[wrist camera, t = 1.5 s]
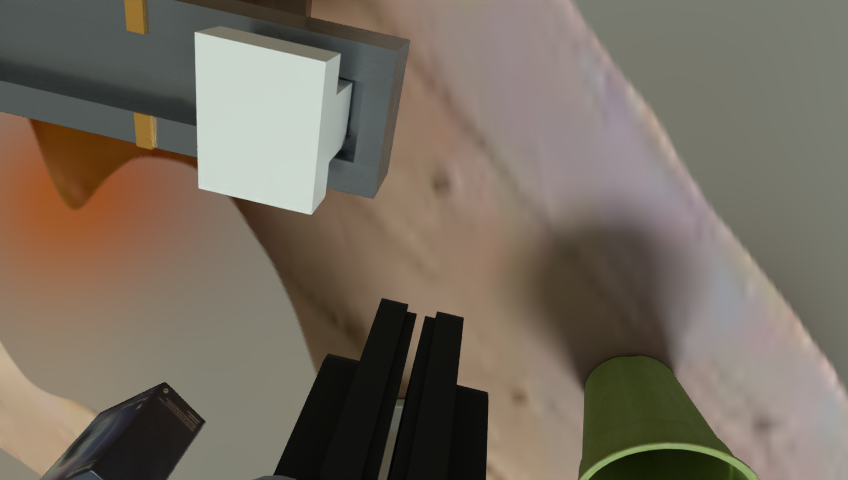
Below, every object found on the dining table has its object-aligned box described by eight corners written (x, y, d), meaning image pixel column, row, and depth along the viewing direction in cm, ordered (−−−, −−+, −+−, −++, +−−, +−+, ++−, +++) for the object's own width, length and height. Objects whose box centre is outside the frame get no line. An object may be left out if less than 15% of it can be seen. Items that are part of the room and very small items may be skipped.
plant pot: (732, 347, 40) (807, 473, 30) (669, 448, 46) (715, 582, 36) (581, 313, 40) (607, 426, 31) (538, 417, 46) (547, 541, 36)
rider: (357, 43, 23) (325, 62, 19) (341, 175, 26) (311, 214, 22) (249, 19, 23) (194, 31, 19) (245, 152, 26) (198, 188, 22)
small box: (164, 376, 50) (88, 469, 41) (209, 421, 52) (147, 518, 43) (97, 410, 54) (13, 502, 45) (142, 450, 56) (71, 546, 47)
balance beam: (438, -23, 31) (406, -14, 21) (403, 165, 37) (365, 244, 26) (66, -106, 31) (-146, -138, 21) (90, 92, 37) (-66, 142, 27)
